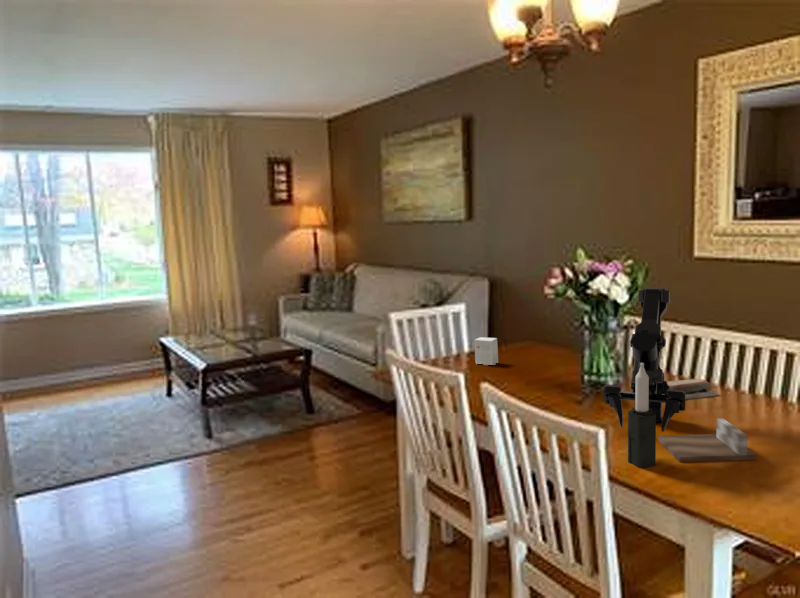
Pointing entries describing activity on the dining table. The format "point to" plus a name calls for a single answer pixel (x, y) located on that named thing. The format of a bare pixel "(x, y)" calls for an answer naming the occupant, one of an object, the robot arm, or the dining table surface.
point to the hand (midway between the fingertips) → (641, 428)
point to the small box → (486, 351)
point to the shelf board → (710, 445)
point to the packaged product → (692, 388)
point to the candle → (642, 425)
